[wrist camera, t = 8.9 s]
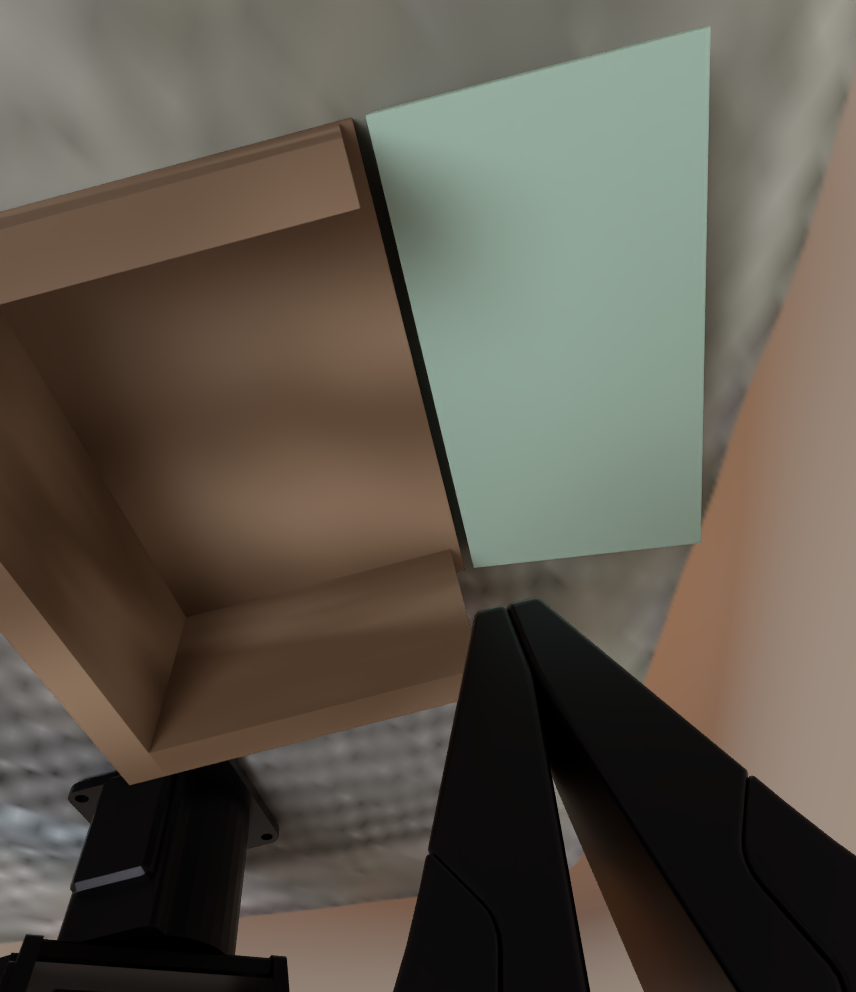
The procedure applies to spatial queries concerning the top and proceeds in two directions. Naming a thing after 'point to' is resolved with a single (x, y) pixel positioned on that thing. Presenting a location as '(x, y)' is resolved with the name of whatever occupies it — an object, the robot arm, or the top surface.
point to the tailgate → (562, 294)
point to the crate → (220, 461)
